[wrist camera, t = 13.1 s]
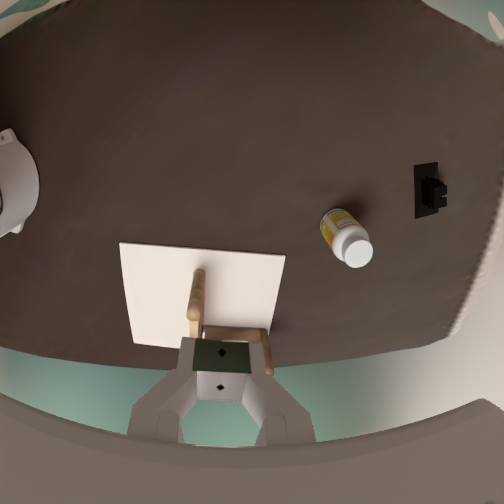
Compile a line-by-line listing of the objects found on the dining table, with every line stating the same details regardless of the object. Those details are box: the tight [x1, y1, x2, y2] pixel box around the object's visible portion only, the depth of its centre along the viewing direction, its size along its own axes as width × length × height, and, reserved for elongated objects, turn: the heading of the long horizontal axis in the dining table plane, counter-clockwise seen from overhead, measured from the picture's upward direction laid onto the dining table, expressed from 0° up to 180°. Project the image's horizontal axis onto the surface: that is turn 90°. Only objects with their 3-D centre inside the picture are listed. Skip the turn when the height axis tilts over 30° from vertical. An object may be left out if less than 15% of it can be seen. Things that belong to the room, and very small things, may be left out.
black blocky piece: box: [414, 162, 447, 219], centre depth 39 cm, size 12×7×5 cm, turn 14°
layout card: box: [119, 242, 285, 348], centre depth 48 cm, size 26×22×1 cm
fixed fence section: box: [200, 326, 274, 376], centre depth 46 cm, size 14×2×10 cm, turn 83°
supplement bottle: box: [320, 209, 373, 268], centre depth 38 cm, size 5×5×10 cm
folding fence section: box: [186, 269, 205, 338], centre depth 42 cm, size 11×2×10 cm, turn 173°
